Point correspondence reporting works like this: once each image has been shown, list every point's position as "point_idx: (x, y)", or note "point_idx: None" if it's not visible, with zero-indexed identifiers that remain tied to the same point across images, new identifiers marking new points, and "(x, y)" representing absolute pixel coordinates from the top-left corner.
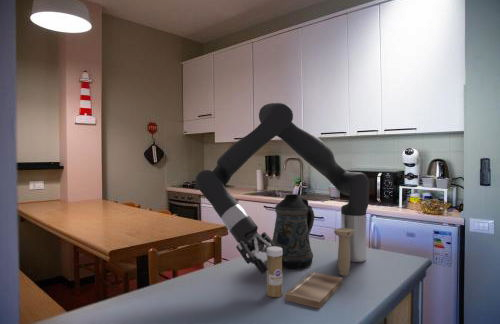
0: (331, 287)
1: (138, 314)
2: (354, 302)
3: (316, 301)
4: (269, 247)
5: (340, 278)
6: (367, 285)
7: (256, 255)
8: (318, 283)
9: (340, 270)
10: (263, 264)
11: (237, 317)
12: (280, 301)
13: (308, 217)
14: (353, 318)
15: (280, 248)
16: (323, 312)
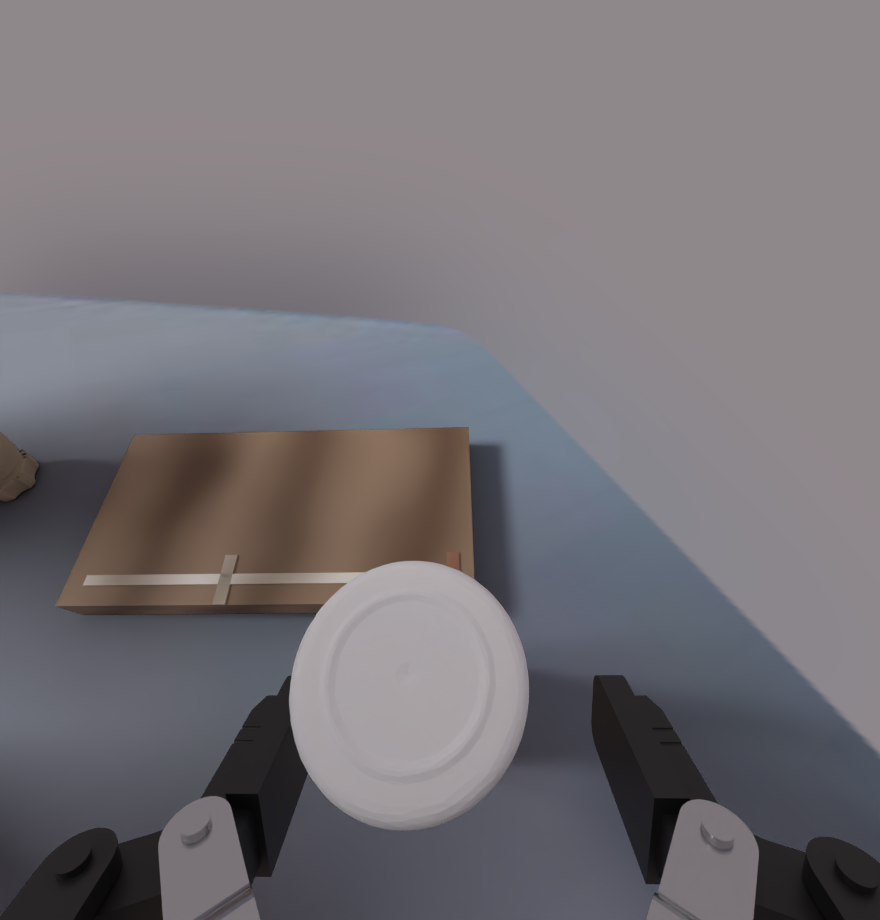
0: (283, 438)
1: None
2: (344, 369)
3: (468, 440)
4: (418, 774)
5: (146, 440)
6: (152, 373)
7: (731, 862)
8: (252, 503)
9: (4, 479)
10: (642, 719)
11: (845, 749)
12: None
13: None
14: (472, 343)
15: (380, 587)
16: (489, 424)
